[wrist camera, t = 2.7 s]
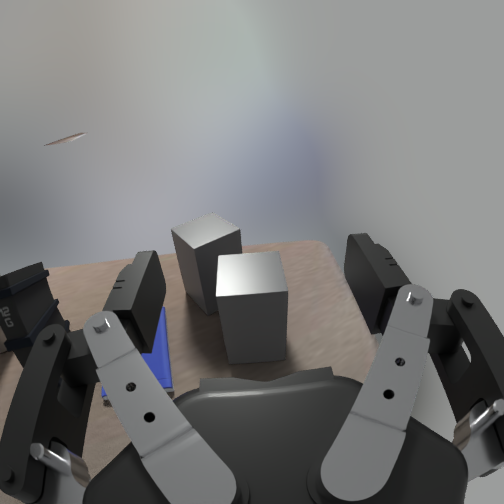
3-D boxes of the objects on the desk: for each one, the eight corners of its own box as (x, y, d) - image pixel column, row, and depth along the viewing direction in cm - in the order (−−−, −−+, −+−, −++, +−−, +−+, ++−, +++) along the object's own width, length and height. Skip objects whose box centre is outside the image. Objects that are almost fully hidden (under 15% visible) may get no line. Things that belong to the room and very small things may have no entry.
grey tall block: (207, 315, 36) (193, 248, 30) (185, 291, 40) (170, 228, 34) (245, 294, 39) (240, 229, 33) (221, 274, 43) (212, 212, 37)
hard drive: (107, 316, 35) (100, 395, 25) (164, 305, 36) (171, 386, 26) (111, 324, 36) (106, 402, 26) (166, 313, 37) (175, 393, 27)
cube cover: (285, 359, 30) (288, 290, 24) (229, 364, 30) (215, 296, 24) (278, 319, 35) (278, 250, 29) (228, 323, 35) (218, 255, 29)
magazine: (40, 417, 20) (-20, 284, 18) (65, 366, 33) (28, 265, 30) (66, 414, 21) (6, 275, 19) (86, 361, 34) (50, 258, 31)
